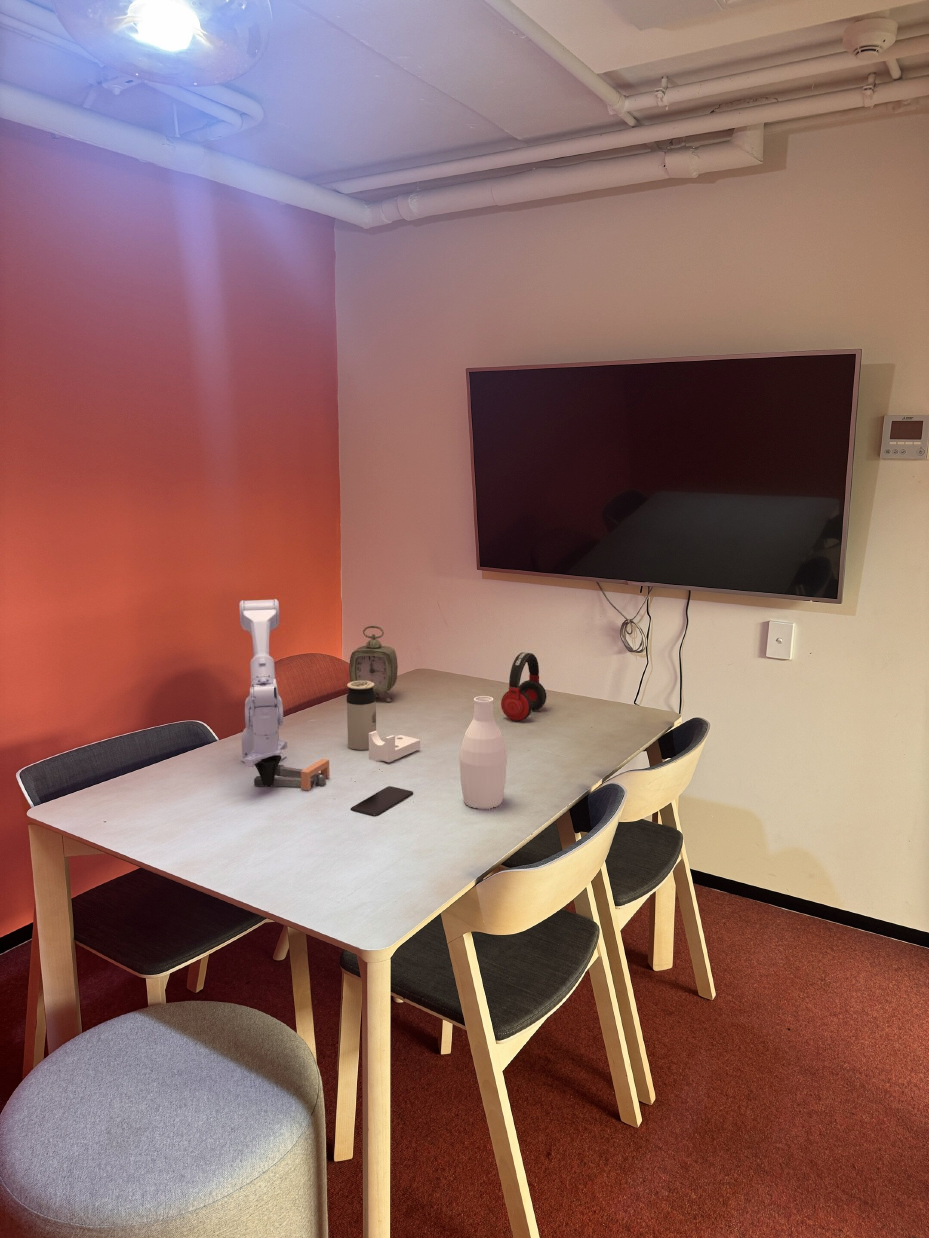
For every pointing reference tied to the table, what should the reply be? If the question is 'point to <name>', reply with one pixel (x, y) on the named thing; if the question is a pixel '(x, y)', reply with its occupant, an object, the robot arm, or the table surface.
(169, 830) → the table surface
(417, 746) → the bracket
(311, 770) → the orange bridge block
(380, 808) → the smartphone
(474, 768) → the bottle
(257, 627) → the robot arm
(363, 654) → the tabletop clock
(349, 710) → the travel mug
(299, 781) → the tong arm
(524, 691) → the headphones
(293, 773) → the base
